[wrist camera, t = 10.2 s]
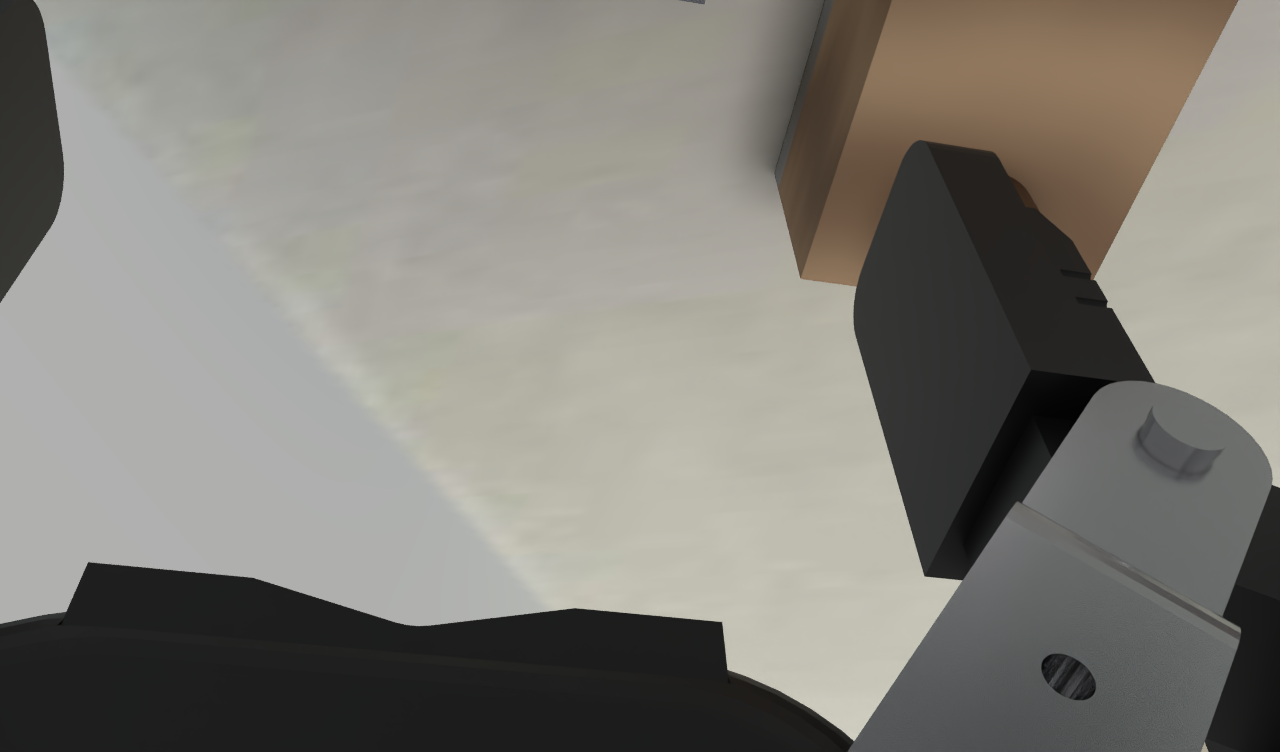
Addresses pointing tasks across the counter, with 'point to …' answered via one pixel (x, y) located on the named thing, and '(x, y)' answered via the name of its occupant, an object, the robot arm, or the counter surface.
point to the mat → (695, 1)
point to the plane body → (986, 109)
